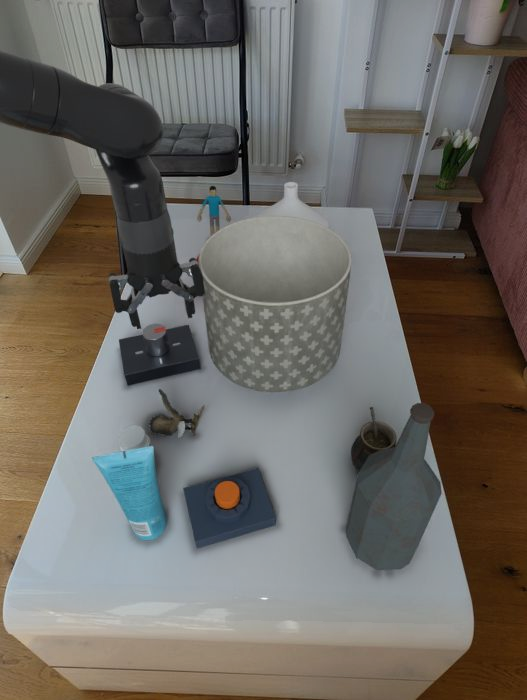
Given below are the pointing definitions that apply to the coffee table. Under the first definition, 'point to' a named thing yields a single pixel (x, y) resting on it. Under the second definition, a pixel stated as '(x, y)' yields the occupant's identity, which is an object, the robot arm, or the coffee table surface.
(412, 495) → the bottle
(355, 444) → the mate gourd
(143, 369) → the dial panel
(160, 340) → the program dial
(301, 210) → the vase
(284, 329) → the planter
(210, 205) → the figurine
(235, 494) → the button
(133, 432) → the pill bottle
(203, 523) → the button block
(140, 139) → the robot arm
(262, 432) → the coffee table surface
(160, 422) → the eagle figurine
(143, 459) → the tube
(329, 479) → the coffee table surface
